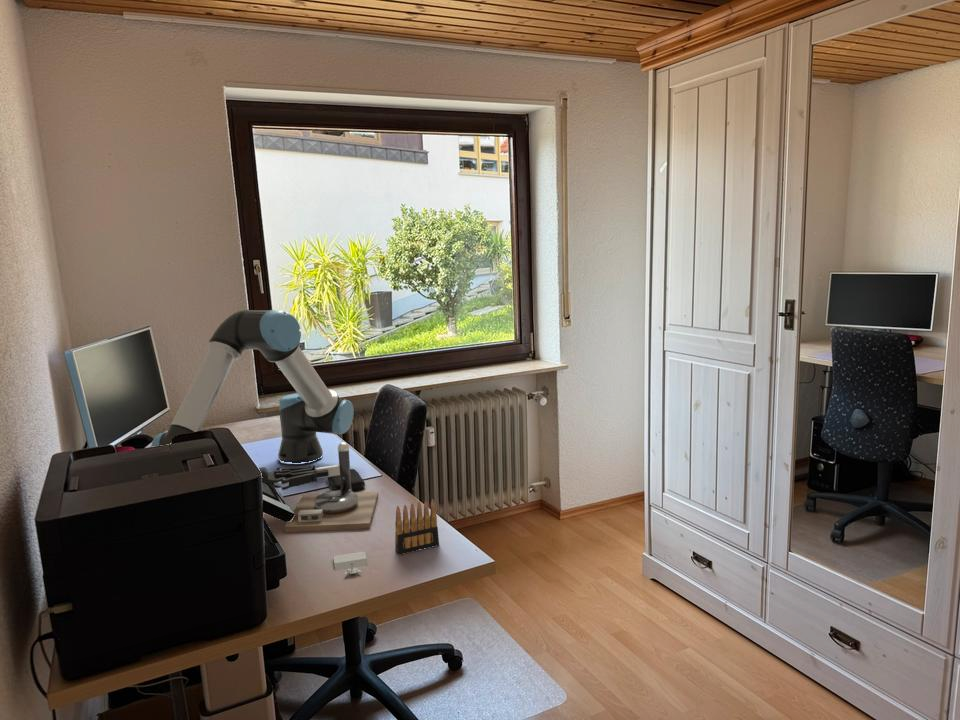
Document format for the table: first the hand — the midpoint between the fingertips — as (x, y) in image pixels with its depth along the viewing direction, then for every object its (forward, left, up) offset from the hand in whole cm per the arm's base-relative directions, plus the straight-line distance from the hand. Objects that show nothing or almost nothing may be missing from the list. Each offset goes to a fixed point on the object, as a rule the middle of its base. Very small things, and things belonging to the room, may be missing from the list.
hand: (339, 469), depth 187 cm
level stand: (+8, -1, -10) cm, 13 cm away
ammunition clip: (+32, +23, -10) cm, 41 cm away
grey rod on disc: (+5, 0, -8) cm, 9 cm away
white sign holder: (+40, +9, -11) cm, 42 cm away
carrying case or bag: (-15, -1, -11) cm, 18 cm away
